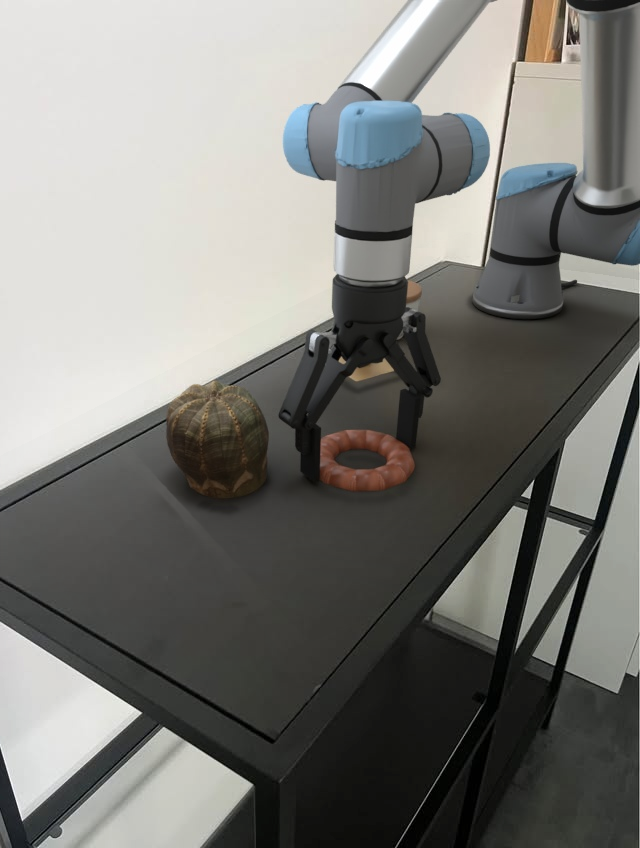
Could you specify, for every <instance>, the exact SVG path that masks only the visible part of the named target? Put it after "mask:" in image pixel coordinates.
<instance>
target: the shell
mask: <svg viewBox="0 0 640 848" xmlns="http://www.w3.org/2000/svg"><path fill="white" fill-rule="evenodd" d="M165 418H166V419H165V420H166V422H165V423H166V424H165V425H166V428H165V429H166V430H165V438H166V439H165V440H166V444H167V448H168V450H169V454H170V456H171V458H172V460H173V461H174V463H175V465H176V466H177V467H178V468H179V469H180V470H181V472H182V473H183V474H184V475H185V477H186V481H187V483H188V485H189V487H190V489H191V490H193V491H195V492H196V493H198V494H199V495H203V496H206V497H209V498H213V499H233V498H238V497H244V496H247V495H249V494H251V493H254V492H255V491H258V490H259V489H260V488H262V486H263V485H264V484H265V482H266V481H267V478H268V470H267V469H268V450H269V440H270V439H269V437H270V436H269V435H270V433H269V427H268V424H267V421H266V417H265V415H264V413H263V411H262V410H261V407H260V406H259V404H258V401H256V399H255V397H254V396H253V395H252V394H251V393H250V392H249V390H248V389H246V388H244V387H242V386H239V385H232V384H231V385H229V384H227V383H224V382H221V381H218V380H213V381H211V382H209V383H207V384H205V385H201V384H199V383H193V384H191V385H190V386H188V387H187V388H186V389H185V390H184V391H182V392H181V394H180V395H178V396H176V397H175V398H174V399H173V400H171V402H170V403H169V406H168V408H167V412H166V417H165Z"/></svg>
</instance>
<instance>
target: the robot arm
mask: <svg viewBox="0 0 640 848" xmlns="http://www.w3.org/2000/svg"><path fill="white" fill-rule="evenodd" d="M497 1H498V0H407V1H406V2H405V3H404V5H402V7H401V8H400V10H399V11H398V12H397V13H396V14H395V15H394V17H393V18H392V19H391V21H390V22H389V23H388V24H387V25H386V27H385V29H383V31H382V32H381V33H380V34H379V36H378V37H377V38H376V39H375V41H374V42H373V43H372V45H371V46H370V47H369V48H368V49H367V51H366V52H365V53H364V54H363V56H362V57H361V58H360V60H359V61H358V62H357V63H356V64H355V66H354V67H353V68H352V69H351V71H350V72H349V73H348V74H347V75H346V77H345V78H344V79H343V81H342V82H341V83H340V84H339V86H338V87H337V89H335V91H334V92H333V93H332V94H331V95H330V97H329V98H328V100H327V101H326V102H325V103H320V102H317V101H316V102H313V103H305V104H302V105H299V106H297V107H296V108H295V109H294V110H292V111H291V113H290V115H289V116H288V118H287V120H286V123H285V125H284V129H283V134H282V149H283V154H284V156H285V159H286V162H287V163H288V165H289V167H290V168H291V169H292V171H295V173H297V174H301V175H303V176H307V177H309V178H314V179H318V180H319V181H331V182H335V220H334V235H333V236H334V238H333V240H334V241H333V265H332V267H333V272H335V276H333V278H332V285H331V286H332V287H331V288H332V289H331V311H332V314H333V321H334V322H333V326H332V328H331V330H330V331H325V332H319V331H316V330H315V329H309V330H308V331H307V332H306V335H305V341H304V350H303V354H302V355H301V358H300V361H299V363H298V366H297V367H296V370H295V373H294V375H293V378H292V380H291V383H290V385H289V387H288V390H287V391H286V392H287V393H286V395H285V398H284V400H283V402H282V405H281V407H280V409H279V411H278V414H277V416H278V419H279V420H281V421H282V422H284V423H285V424H286V425H288V426H289V427H290V428H291V429H294V447H295V450H296V451H297V452H299V453H300V461H299V462H300V465H299V467H300V470H299V471H300V473H302V474H303V475H304V476H306V477H307V478H308V479H309V481H312V482H313V483H316V482H319V481H321V480H320V451H321V438H322V427H321V426H320V425H318V424H317V423H318V422H319V419H320V418H321V417H322V415H323V414H324V412H325V411H326V409H327V408H328V406H329V404H330V403H331V401H332V399H333V398H334V397H335V396H336V394H337V392H338V391H339V389H340V387H341V386H342V385H343V383H344V382H345V380H346V378H349V377H348V376H351V375H352V374H353V372H354V371H355V369H356V368H357V367H358V368H362V367H365V366H367V365H369V364H371V363H381V362H383V359H384V358H385V359H386V361H387V362H388V363H389V364H390V366H391V367H392V368H393V369H394V371H393V372H395V373H396V375H397V376H398V377H399V379H400V381H402V382H403V384H404V385H405V386H406V387H407V388H408V389H407V388H402V389H400V390H399V401H398V411H397V422H396V433H395V438H396V439H397V440H399V441H400V442H402V443H403V444H405V445H406V446H407V447H408V448H409V449H410V450H413V449H415V448H416V447H417V439H418V429H419V428H418V427H419V419H421V418H422V416H423V413H424V403H425V398H430V397H431V396H432V395H433V392H434V390H433V388H432V386H434V387H437V386H439V385H441V384H440V383H441V382H442V378H441V375H440V372H439V369H438V366H437V363H436V360H435V357H434V354H433V351H432V347H431V345H430V342H429V339H428V336H427V332H426V314H425V313H423V312H421V311H420V310H419V311H416V310H414V309H412V308H409V307H406V301H407V290H408V280H409V279H407V278H406V276H407V275H408V274H409V273H410V269H411V255H412V242H413V227H414V216H415V208H416V204H420V203H422V202H423V203H424V202H425V201H429V200H433V199H437V198H442V197H444V196H452V195H453V194H454V195H455V194H457V193H458V192H461V191H462V190H464V189H466V188H468V187H471V186H473V185H474V184H475V183H476V182H477V181H478V180H480V179H481V177H482V176H483V175H484V173H485V171H486V169H487V167H488V164H489V161H490V156H491V144H490V137H489V135H488V132H487V130H486V128H485V126H484V125H483V124H482V123H481V121H479V119H478V118H476V117H475V116H473V115H470V114H468V113H463V112H461V113H459V112H458V113H456V112H455V113H453V112H444V113H442V114H439V115H429V114H428V115H427V114H423V113H422V112H423V111H422V109H421V107H420V106H419V105H418V104H416V103H414V101H415V100H416V99H417V97H418V96H419V94H420V93H421V92H422V90H423V89H425V87H426V85H427V84H428V83H429V81H430V80H431V79H432V77H433V76H434V75H435V74H436V72H437V71H438V69H439V68H440V67H441V66H442V65H443V64H444V62H445V61H446V59H447V58H448V57H449V55H450V54H451V53H452V52H453V50H455V48H456V47H457V45H458V44H459V42H460V41H461V40H462V39H463V37H464V36H465V35H466V33H467V32H468V31H469V30H470V28H471V27H472V26H473V25H474V23H475V22H476V21H477V19H478V18H479V17H480V16H481V14H482V13H483V11H484V10H485V9H486V8H487V6H488V5H489V4H490V3H494V2H497ZM565 3H566V5H567V6H568V8H569V9H571V10H573V11H574V12H576V13H577V14H579V47H580V51H579V52H580V54H579V55H580V92H581V95H580V96H581V131H582V133H581V134H582V169H581V170H580V171H579V172H578V168H577V166H576V164H574V163H568V162H545V163H533V164H526V165H525V164H524V165H519V166H515V167H512V168H509V169H507V170H506V171H504V172H503V174H502V175H501V177H500V180H499V184H498V187H497V193H496V196H495V208H494V215H493V223H492V232H491V238H490V239H491V240H490V248H489V255H488V258H487V262H486V264H485V265H484V268H483V270H482V272H481V275H480V276H479V280H478V281H477V283H476V285H475V287H474V290H473V293H472V304H473V305H474V306H475V307H476V308H477V309H478V310H479V311H482V312H484V313H486V314H490V315H493V316H497V317H502V318H505V319H506V318H507V319H513V320H538V319H539V320H540V319H545V318H550V317H553V316H555V315H558V314H559V313H560V312H562V310H563V305H564V292H563V290H562V288H568V287H571V286H573V285H577V284H578V280H577V279H573V280H571V281H567V282H563V283H562V278H561V270H560V261H561V260H560V259H561V256H562V255H561V254H566V255H571V256H574V257H575V256H576V257H580V258H585V259H590V260H595V261H598V262H604V263H608V264H612V265H624V266H631V267H632V266H639V265H640V0H565ZM402 330H403V333H404V334H403V337H404V339H405V342H406V345H407V347H408V350H409V353H410V356H411V359H412V361H413V362H412V363H413V364H414V366H413V364H412V363H411V362H410V361H409V360H408V358H407V356H405V355H406V353H405V352H404V350H403V349H402V348H401V346H400V345H399V343H397V340H398V339H397V338H398V336H399V335H400V333H401V331H402ZM341 356H342V358H343V359H344V360H345V361H346V363H345V364H342V363H340V362H339V359H340V358H341ZM325 364H326V365H325Z"/></svg>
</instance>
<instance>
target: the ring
mask: <svg viewBox="0 0 640 848" xmlns="http://www.w3.org/2000/svg"><path fill="white" fill-rule="evenodd" d="M349 450H367V451H372V452H375V453H377V454H379V455H381V456H382V457H383V458H385V461H386V464H384V465H380V466H379V467H375V468H363V469H360V468H359V469H356V468H353V467H348V466H344V465H341V464H339V463H338V462H337V461H336V460H335V459H336V458H337V456H338V455H339V454H340V453H344V452H347V451H349ZM415 468H416V464H415V461H414V458H413V455H412V451H411V449H410V448H408V447H407V446H406V445H405V444H403V443H402V442H400V441H399V440H397V439H396V437H394V436H393V435H391V434H388V433H384V432H380V431H376V430H371V429H344V430H343V429H342V430H339V431H337V432H334V433H330V434H327V435H324V436H321V451H320V480H319V481H321V482H323V483H324V484H326V485H329V486H332V487H336V488H340V489H342V490H347V491H351V492H373V491H378V492H379V491H384V490H388V489H390V488H392V487H395V486H397V485H398V486H399V485H400V484H403V483H405V482H406V481H407V480H408V479H409V477H410V476H411V474H412V473H413V472H414V470H415Z"/></svg>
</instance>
